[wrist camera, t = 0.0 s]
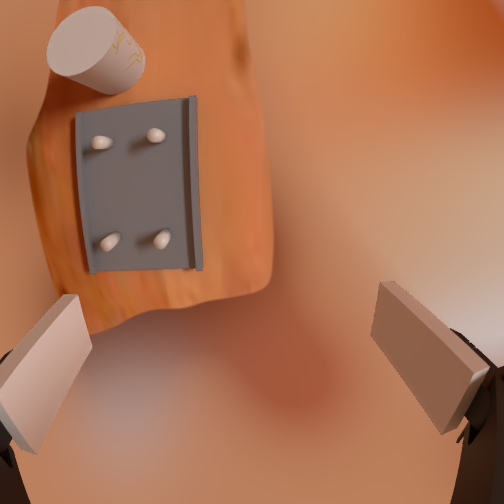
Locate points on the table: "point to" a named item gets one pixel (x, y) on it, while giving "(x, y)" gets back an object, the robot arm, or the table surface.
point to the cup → (96, 51)
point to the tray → (140, 186)
